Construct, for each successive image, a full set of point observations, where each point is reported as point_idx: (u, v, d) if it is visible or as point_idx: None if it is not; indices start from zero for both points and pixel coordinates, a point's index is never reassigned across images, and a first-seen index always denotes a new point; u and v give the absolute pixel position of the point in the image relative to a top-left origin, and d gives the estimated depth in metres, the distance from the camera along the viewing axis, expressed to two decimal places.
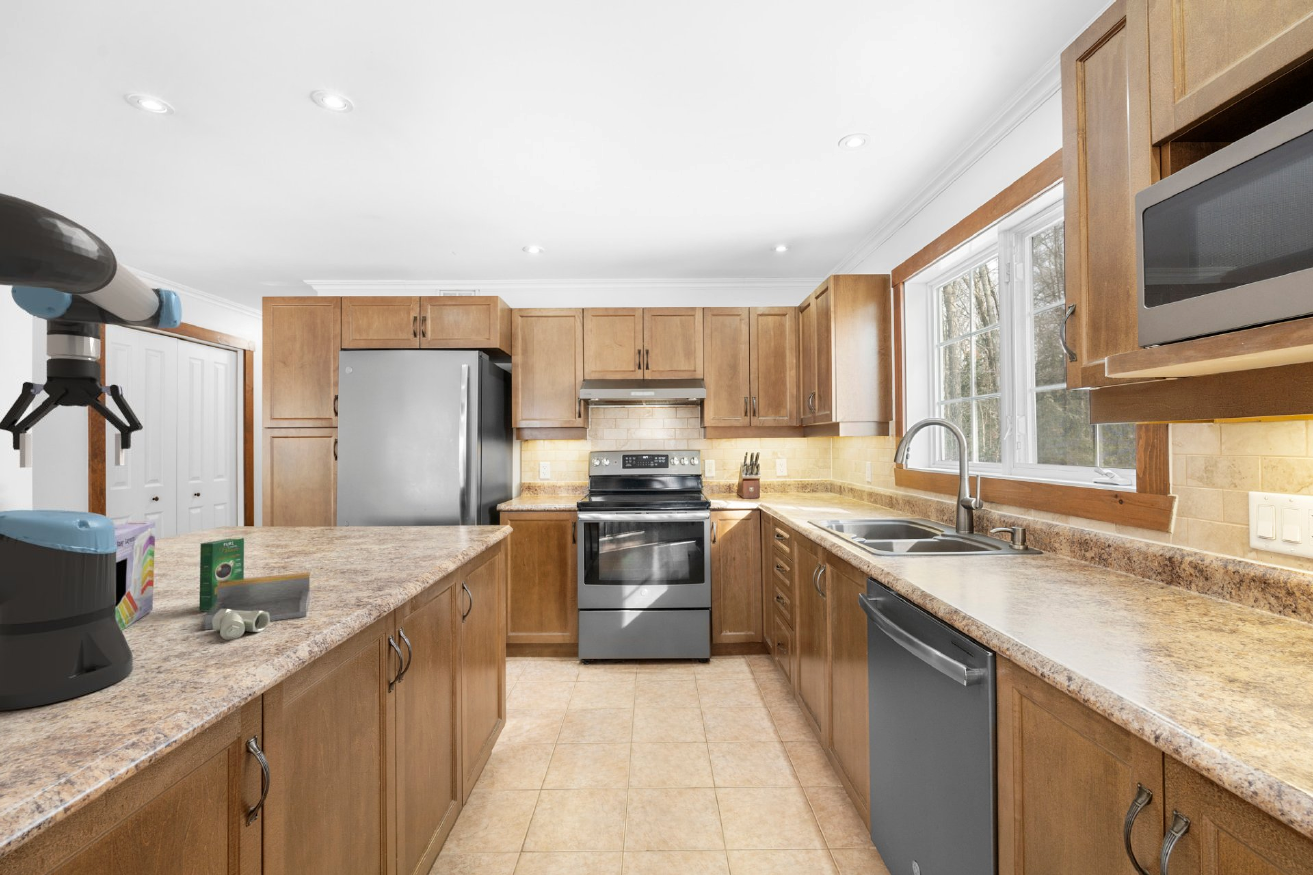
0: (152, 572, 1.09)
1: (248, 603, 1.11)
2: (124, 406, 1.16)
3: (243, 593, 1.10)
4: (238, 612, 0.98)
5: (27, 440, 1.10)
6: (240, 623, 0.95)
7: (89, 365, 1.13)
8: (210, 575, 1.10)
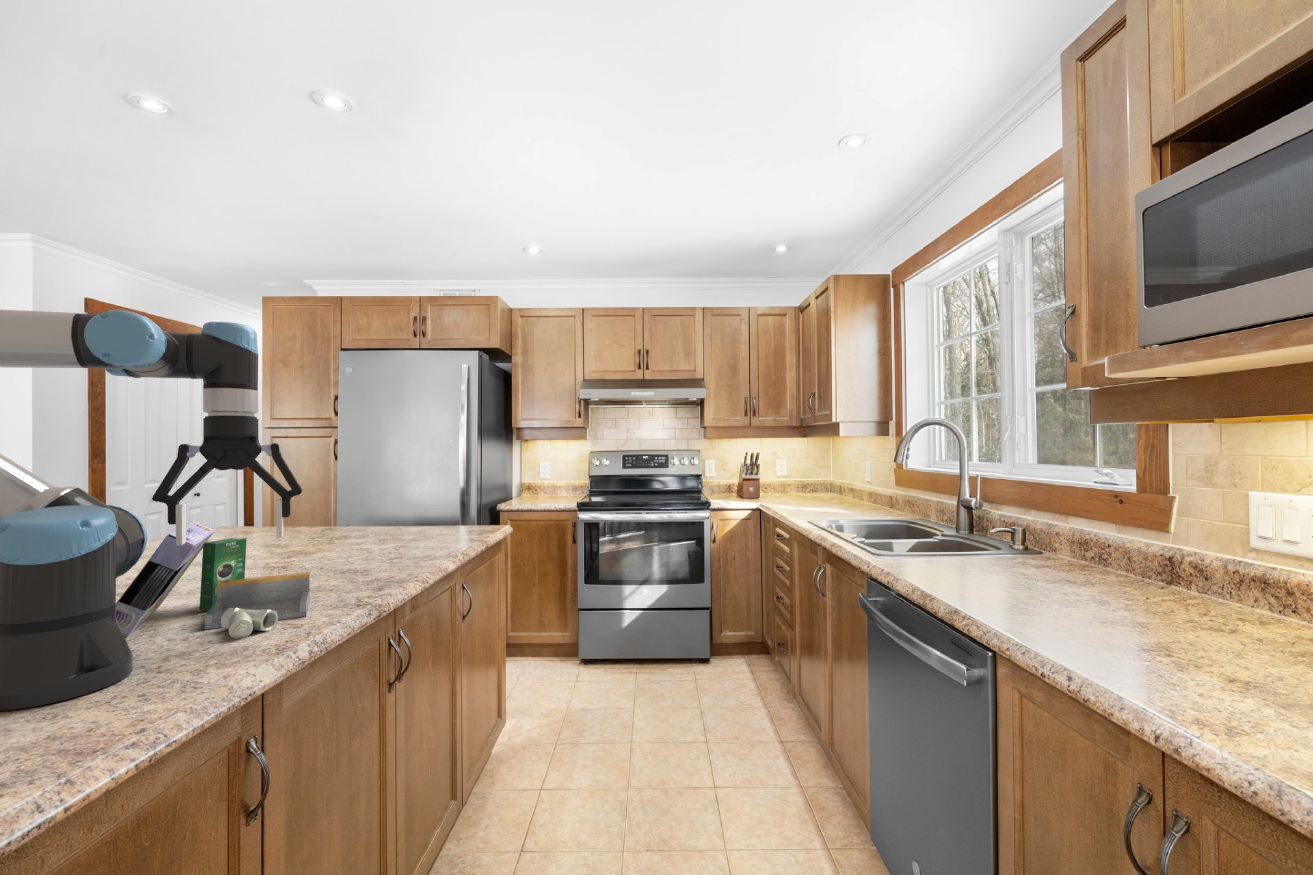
0: (182, 574, 1.12)
1: (248, 603, 1.11)
2: (285, 468, 0.99)
3: (243, 593, 1.10)
4: (246, 611, 0.98)
5: (182, 512, 0.93)
6: (248, 622, 0.95)
7: (250, 422, 0.96)
8: (211, 575, 1.10)
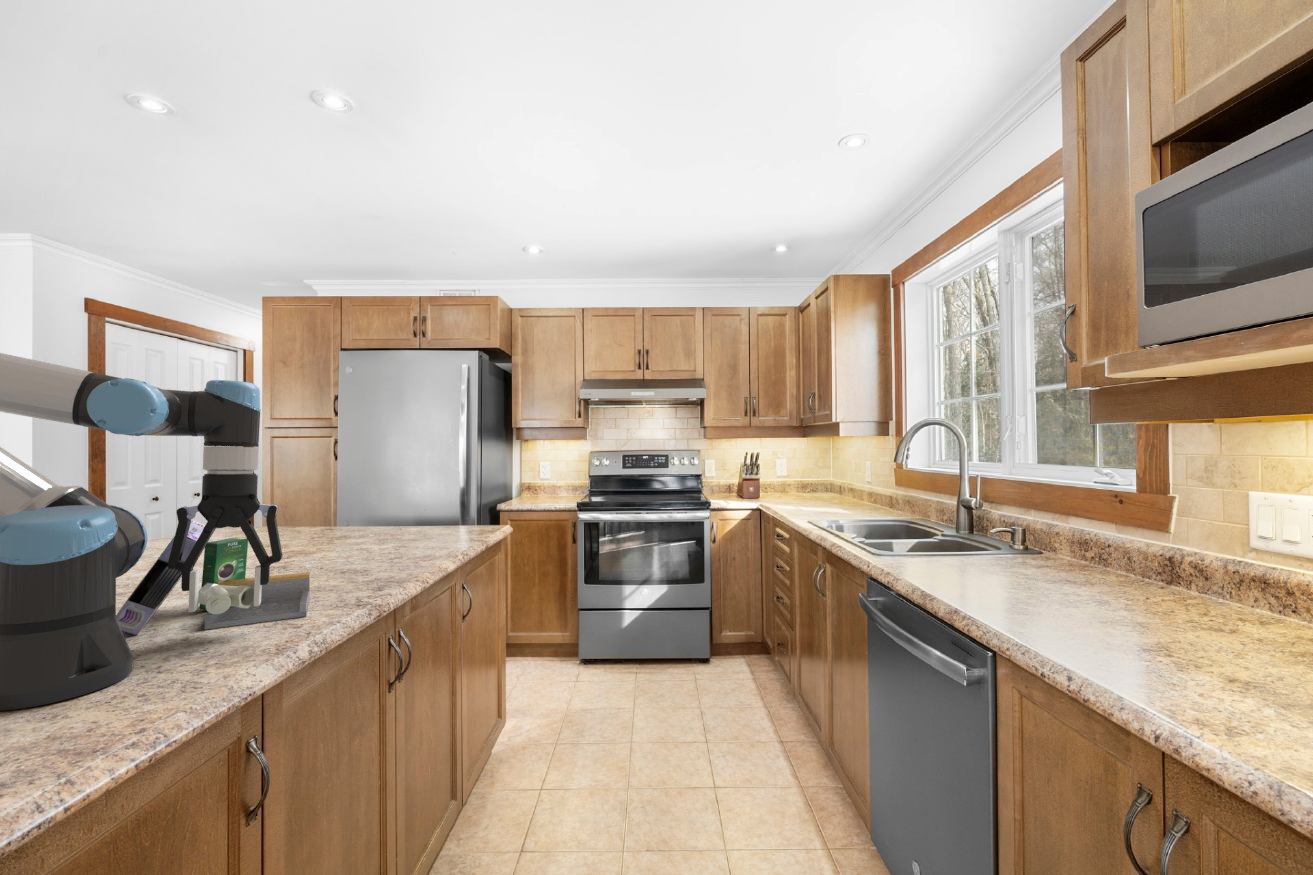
0: None
1: None
2: (275, 532, 0.99)
3: None
4: (224, 587, 0.97)
5: (196, 579, 0.94)
6: (226, 597, 0.94)
7: (249, 480, 0.96)
8: (212, 575, 1.10)
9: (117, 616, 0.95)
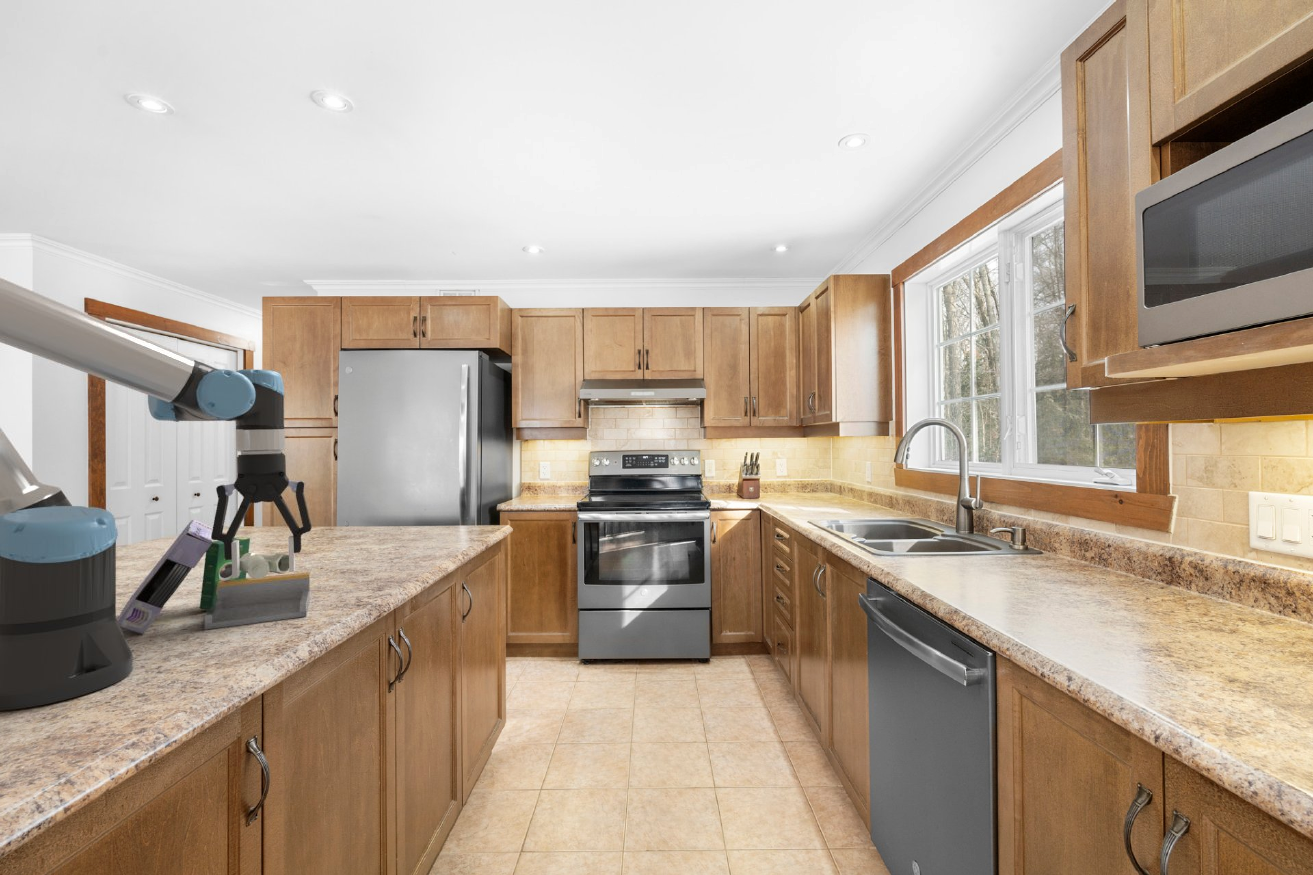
0: None
1: (248, 603, 1.11)
2: (304, 505, 1.09)
3: (243, 593, 1.10)
4: (262, 555, 1.08)
5: (237, 548, 1.05)
6: (265, 563, 1.04)
7: (278, 459, 1.06)
8: (213, 575, 1.10)
9: (124, 615, 0.95)
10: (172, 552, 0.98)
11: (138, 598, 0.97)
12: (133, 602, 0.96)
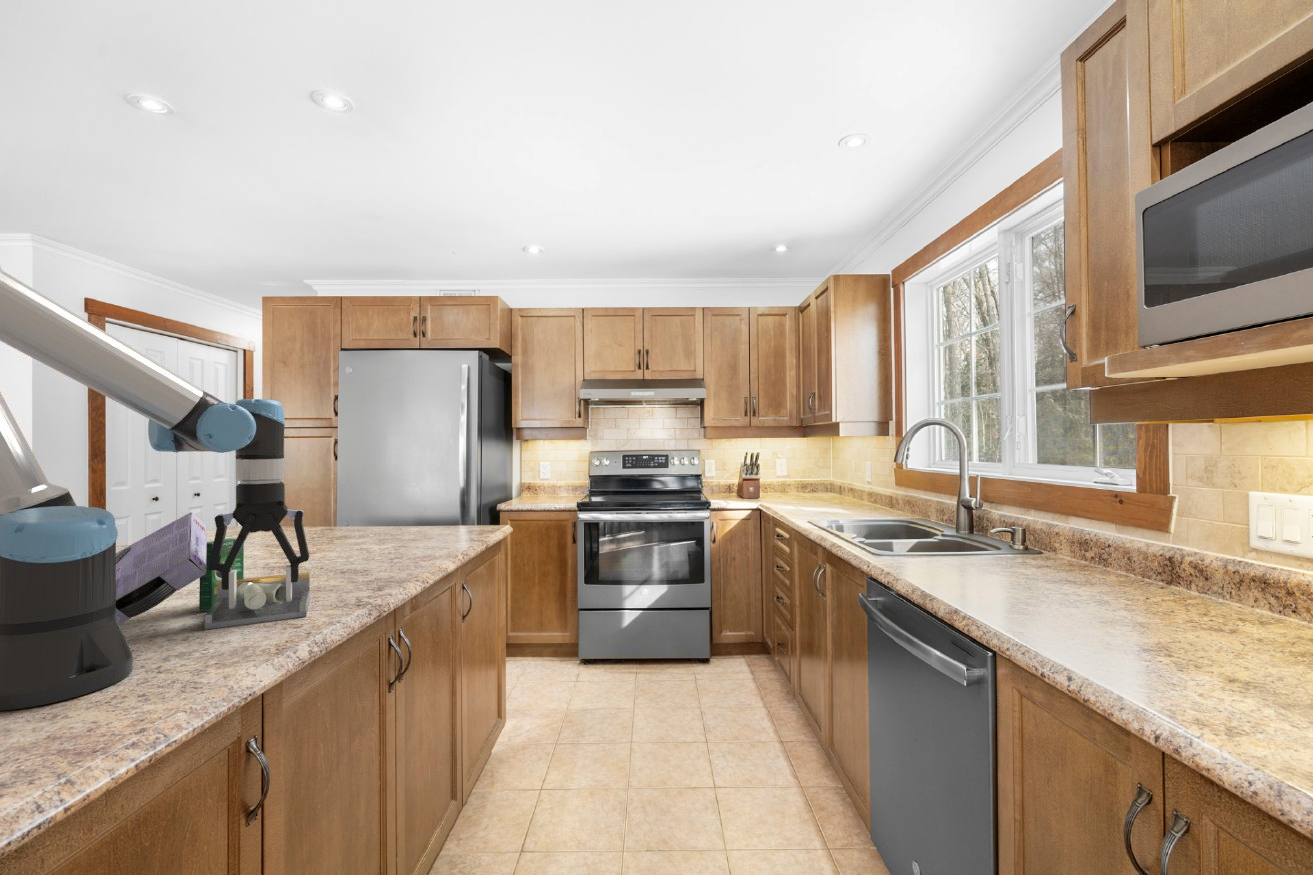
0: None
1: None
2: (302, 535, 1.09)
3: None
4: (259, 585, 1.07)
5: (234, 578, 1.04)
6: (262, 594, 1.04)
7: (278, 489, 1.06)
8: (210, 575, 1.10)
9: None
10: (167, 572, 0.98)
11: None
12: None
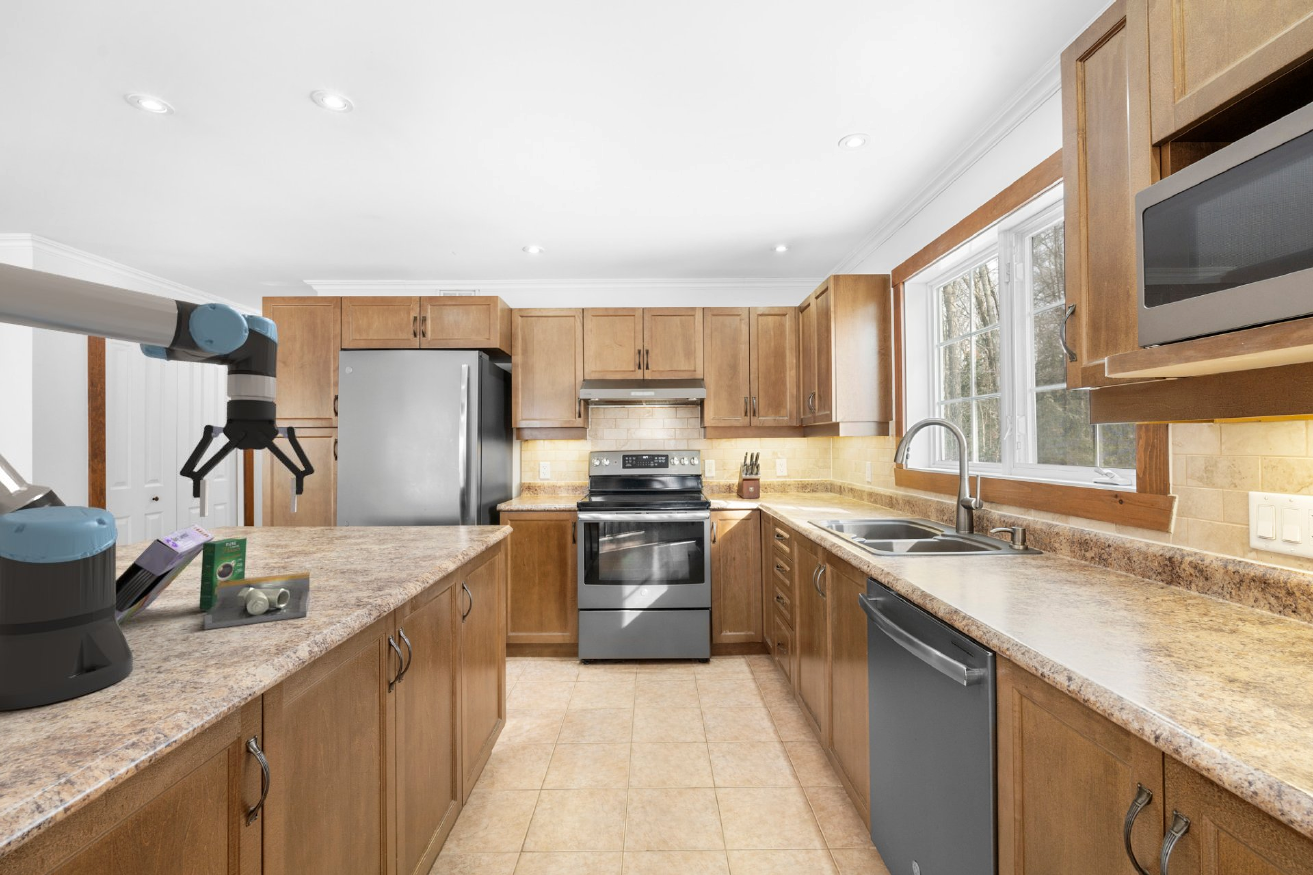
0: (176, 576, 1.13)
1: None
2: (300, 449, 1.09)
3: None
4: (261, 590, 1.07)
5: (206, 487, 1.02)
6: (264, 599, 1.04)
7: (269, 406, 1.05)
8: (211, 575, 1.10)
9: None
10: (140, 557, 0.98)
11: None
12: None
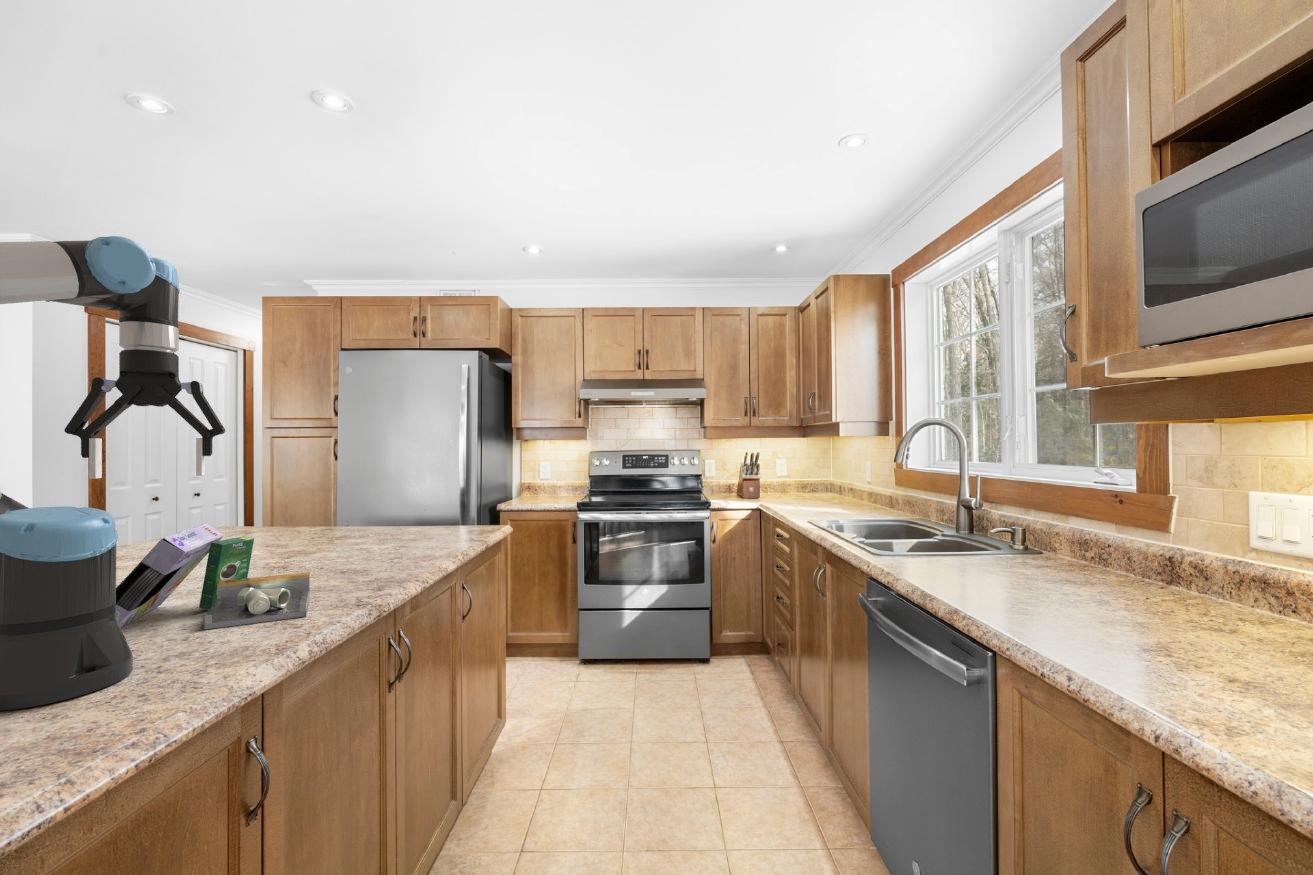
0: (187, 575, 1.14)
1: None
2: (206, 406, 0.99)
3: None
4: (261, 590, 1.08)
5: (97, 446, 0.93)
6: (266, 599, 1.05)
7: (168, 358, 0.96)
8: (215, 575, 1.10)
9: None
10: (147, 556, 0.98)
11: None
12: None
